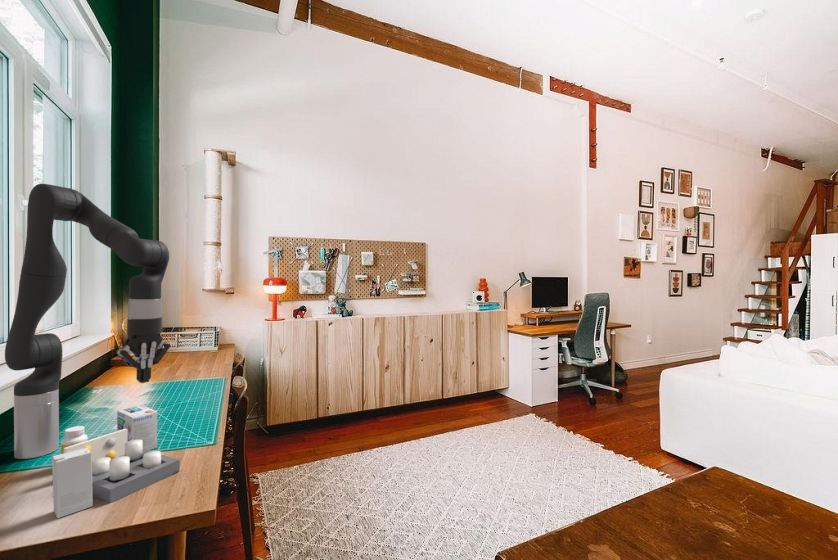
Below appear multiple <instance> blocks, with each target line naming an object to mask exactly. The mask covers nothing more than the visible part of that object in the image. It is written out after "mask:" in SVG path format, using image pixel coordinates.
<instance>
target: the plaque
mask: <svg viewBox="0 0 838 560" xmlns="http://www.w3.org/2000/svg"><path fill="white" fill-rule="evenodd" d="M126 442H128V433H127V429H123V430H119V431H117V430H116V431H113V432H111V433H107V434H104V435H100V436H98V437H95V438H92V439H88V441H85V442H81V443H78V444H75V445H72V446H69V447H66V448H64V453H68V452H71V451H75V450H79V449H83V448H88V449H89V451H90V452H91V461H93V460H96V459H99V458H103V457H109V458H111V459H114V458H117V457H119V456H122V455H125V443H126Z"/></svg>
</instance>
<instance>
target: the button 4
mask: <svg viewBox="0 0 838 560" xmlns="http://www.w3.org/2000/svg"><path fill="white" fill-rule="evenodd" d="M161 455H162V451H159V450H151V451H150V452H148V453H146V454H144V455H143V468H146V469H151V468H153V467H155V466H158V465H160V464H161Z"/></svg>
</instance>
